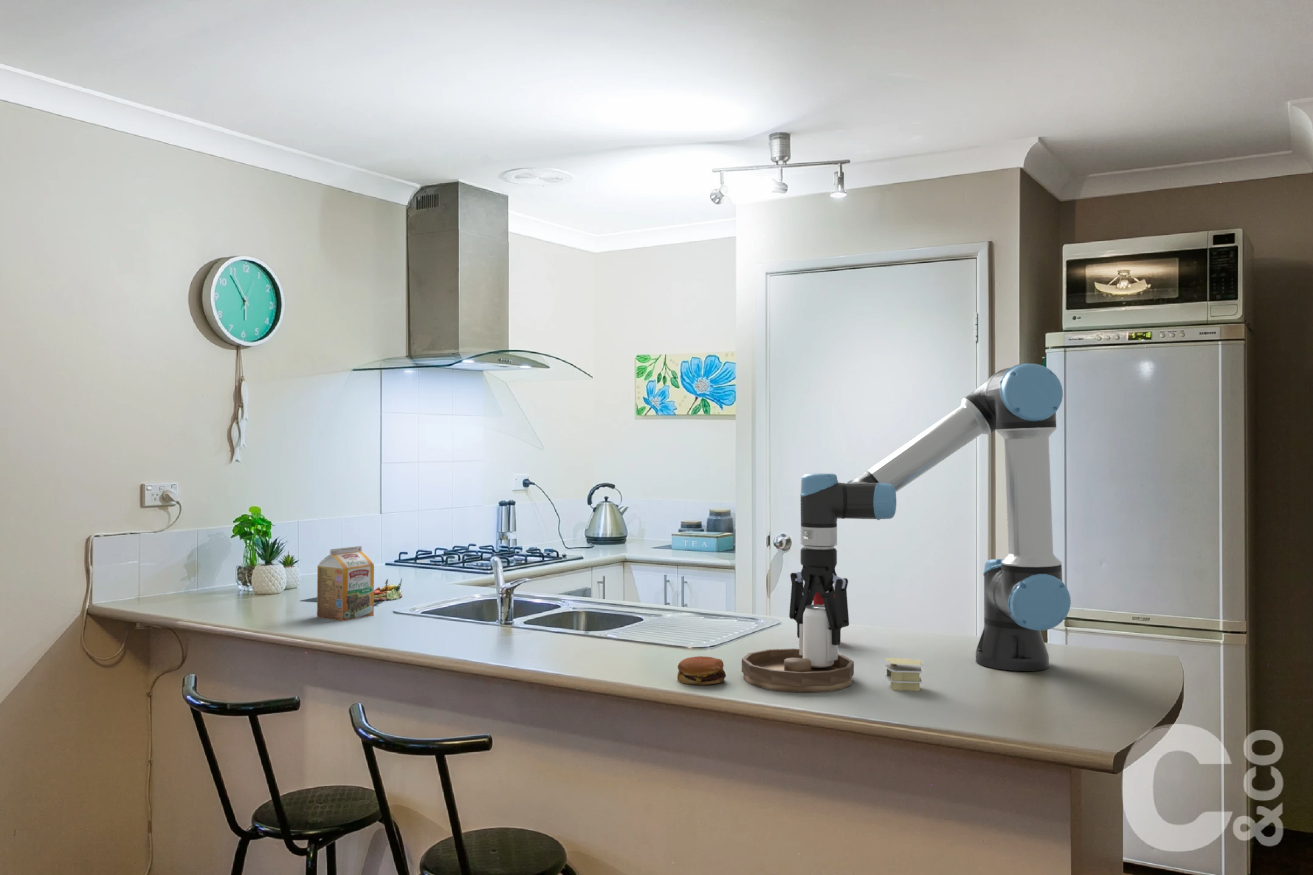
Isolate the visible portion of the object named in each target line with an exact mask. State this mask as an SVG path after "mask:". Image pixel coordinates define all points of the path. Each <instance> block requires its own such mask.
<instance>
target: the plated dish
mask: <svg viewBox="0 0 1313 875" xmlns="http://www.w3.org/2000/svg"><path fill="white" fill-rule="evenodd" d="M388 581H389V579H388V578H387V579H386V580H385V583H384V586H383V587H382V588H381V586H378V587H376V588H374V607H379V605H381V604H383V602H387V601H396V600H399V599H401V598H402V597H403V594H402V590H401V587H402V582H403V578H400V582H399V584H389V582H388ZM300 602H306V603H317V596H316V597H311V598H306V599H301V600H300Z"/></svg>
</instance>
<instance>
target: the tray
mask: <svg viewBox="0 0 1313 875" xmlns="http://www.w3.org/2000/svg"><path fill="white" fill-rule="evenodd" d="M741 673H742V674H743V680H744V681H745V682H746V683H748V684H750V685H752V686H755V687H758V688H762V689H767V690H771V691H779V692H789V693H825V692H826V693H827V692H834V691H840V690H842V689H846V688H848V687H850V686H851V685H852V684H853V676H854V675H855V662H854V660H852V659H851V658H848V657H846V656H845V655H844V654H840V653H838V660H834V664H833V665H832V666H831V667H825V668H817V667H811V660H809V659H805V658H803V655H799V648H772V649H771V648H770V649H764V650H763V649H762V650H757V651H754V652H749V653H747V654H745V656H744V657H742V658H741Z"/></svg>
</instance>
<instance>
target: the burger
mask: <svg viewBox="0 0 1313 875" xmlns="http://www.w3.org/2000/svg"><path fill="white" fill-rule="evenodd" d="M677 670H678V672H677V675H676V676H677V677H676V678H677V681H678V682H679V683H681V684H684V685H695V686H696V685H697V686H698V685H699V686H709V685H715V684H719V683H723V682H724V681H725V679H726V677H727V675H726V671H725V669H724V661H723V660H722V659H720V658H716V657H712V656H702V655H701V656H700V655H699V656H691V657H687V658H684V659H682V660H681V661H679V663H678V665H677Z"/></svg>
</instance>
